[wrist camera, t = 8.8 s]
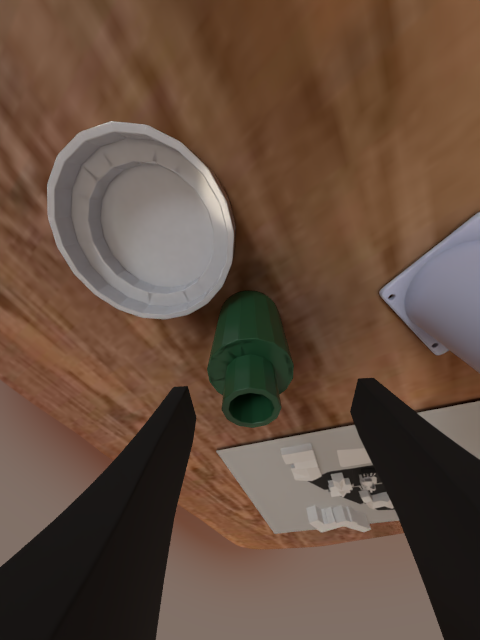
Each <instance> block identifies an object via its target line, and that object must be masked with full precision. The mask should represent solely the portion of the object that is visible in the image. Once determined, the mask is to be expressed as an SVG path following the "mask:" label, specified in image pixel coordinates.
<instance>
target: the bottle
mask: <svg viewBox="0 0 480 640" xmlns="http://www.w3.org/2000/svg"><path fill="white" fill-rule="evenodd" d="M293 368H294V365H293V361H292V358H291V354H290V351H289V347H288V344H287V340H286V337H285V333H284V329H283V326H282V322H281V319H280V315H279V312H278V310H277V307H276V305H275V303H274V302H273V301H272V300H271V299H270V298H269V297H268V296H266V295H265V294H263V293H260V292H257V291H242V292H238V293H236V294H234V295H232V296H231V297H229V298H228V299H227V300H226V301H225V303H224V304H223V306H222V308H221V311H220V315H219V318H218V323H217V327H216V332H215V336H214V341H213V345H212V350H211V354H210V359H209V363H208V368H207V371H208V376H209V381H210V383H211V384H212V385H213V386H214V388H215V389H216V390H217V392H218V393H220V394H222V395H223V402H222V411H223V413H224V415H225V416H226V418H227V419H228V420H229V421H231V422H233V423H235V424H236V425H239V426H244V427H251V428H254V427H259V426H264V425H267V424H269V423H270V422H272V421H273V420H275V419H276V418H277V417H278V415H279V412H280V410H281V403H280V397H279V394H281V393H282V392H283V391H285V390H286V389H287V387H288V385H289V384H290V382H291V381H292V379H293Z"/></svg>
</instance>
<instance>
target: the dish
mask: <svg viewBox="0 0 480 640" xmlns="http://www.w3.org/2000/svg"><path fill="white" fill-rule="evenodd" d="M47 206H48V219H49V222H50V226H51V229H52V232H53V235H54V238H55V241H56V244H57V247H58V249H59V251H60V252H61V254H62V255H63V257H64V259H65V260H66V262H67V263H68V265H69V267H70V268H71V270H72V272H73V273H74V274H75V275H76V276H77V277H78V278H79V279H80V280H81V281H82V282H83V283H84V284H85V285H86V286H87V287H88V288H89V289H90V290H91V291H92V292H93V293H94V294H95V295H96V296H98V297H99V298H101V299H102V300H104V301H106V302H107V303H109V304H110V305H112V306H113V307H115V308H117V309H119V310H121V311H124V312H127V313H130V314H133V315H136V316H139V317H142V318H153V319H170V318H175V317H180V316H185V315H189V314H190V313H192V312H194V311H196V310H197V309H199V308H201V307H203V306H204V305H206V304H207V303H209V301H210V300H211V299H212V298H213V297H214V296H215V295H216V293H217V292H218V291H219V290H220V289H221V288H222V286H223V285H224V282H225V280H226V277H227V275H228V272H229V270H230V267H231V264H232V261H233V256H234V251H235V236H236V225H235V221H234V217H233V212H232V208H231V203H230V201H229V198H228V196H227V194H226V193H225V191H224V189H223V187H222V185H221V184H220V182H219V180H218V178H217V176H216V175H215V173H214V172H213V171H212V170H211V169H210V168H209V167H208V166H207V165H206V164H205V163H204V162H203V161H202V160H201V159H200V158H199V157H198V156H197V155H196V154H194V153H193V152H192V151H191V150H190V149H189V148H188V147H186V146H185V145H184V144H183V143H181V142H180V141H178V140H176V139H174V138H172V137H170V136H168V135H166V134H164V133H162V132H160V131H158V130H156V129H154V128H152V127H150V126H148V125H144V124H134V123H124V122H114V121H111V122H107V123H104V124H101V125H98V126H96V127H93V128H90V129H87V130H84V131H81V132H80V133H78V134H77V135H76V136H75V137H74V138H73V139H72V140H71V141H70V142H69V143H68V145H67V146H66V147H65V148H64V149H63V150H62V151H61V152H60V153H59V154H58V155H57V158H56V161H55V163H54V166H53V169H52V172H51V175H50V178H49V181H48V183H47Z"/></svg>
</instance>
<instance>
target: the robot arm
mask: <svg viewBox="0 0 480 640" xmlns="http://www.w3.org/2000/svg"><path fill="white" fill-rule="evenodd" d="M392 294H393V295H392ZM379 295H380V297H381V298H382V299H383V300H384V301H385V302H386V303H387V304H388V305H389V306H390V307H391V308H392V309H393V311H394V312H395V313H396V314H397V315H398V316H399V317H400V318H401V319H402V320H403V321H404V322H405V323H406V325H407V326H408V327H409V328H410V329H411V330H412V331H413V332H414V333H415V334H416V335H417V336H418V337H419V339H420V340H421V341H422V342H423V343H424V344H425V345H426V346H427V347H428V348H429V349H430V350H431V351H432V352H433V353H434V354H435V355H442V354H444V353H445V352H447V351H449V350H450V351H451V352H452V353H454V354H455V355H456V356H458V357H459V358H460V359H462V360H463V361H464V362H466V363H467V364H468V365H469V366H471V367H472V368H473V369H475V370H476V371H477V372H479V373H480V212H478V213H477V214H475V215H474V216H473V217H472V218H470V219H469V220H468V221H467V222H465V223H464V224H463V225H462V226H460V227H459V228H458V229H456V230H455V231H454V232H453V233H451V234H450V235H449V236H448V237H446V238H445V239H444V240H442V241H441V242H440V243H439V244H437V245H436V246H435V247H434V248H432V249H431V250H430V251H429V252H427V253H426V254H425V255H423V256H422V257H421V258H420V259H418V260H417V261H416V262H415V263H413V264H412V265H411V266H410V267H408V268H407V269H406V270H404V271H403V272H402V273H401V274H399V275H398V276H397V277H396V278H394V279H393V280H392V281H391V282H389V283H388V284H387V285H385V286H384V287H383V288H382V289H381V290H380V292H379ZM390 295H392V297H391V298H388V297H389V296H390ZM350 412H351V415H352V418H353V421H354V424H355V427H356V429H357V432H358V435H359V437H360V439H361V441H362V444H363V446H364V448H365V450H366V452H367V454H368V456H369V458H370V460H371V462H372V464H373V466H374V468H375V470H376V472H377V474H378V476H379V478H380V480H381V482H382V484H383V486H384V488H385V490H386V492H387V494H388V496H389V498H390V500H391V503H392V505H393V507H394V509H395V511H396V514H397V516H398V518H399V521H400V523H401V526H402V528H403V531H404V533H405V536H406V538H407V541H408V543H409V546H410V548H411V551H412V553H413V556H414V559H415V561H416V564H417V566H418V569H419V572H420V574H421V577H422V580H423V582H424V585H425V587H426V590H427V593H428V595H429V599H430V601H431V604H432V607H433V610H434V612H435V615H436V618H437V621H438V624H439V626H440V629H441V632H442V635H443V637H444V640H480V459H478V458H477V457H475V456H474V455H472V454H471V453H469V452H468V451H467V450H465V449H464V448H463V447H461V446H460V445H458V444H457V443H456V442H454V441H453V440H452V439H450V438H449V437H447V436H446V435H445V434H443V433H442V432H441V431H439V430H438V429H437V428H435V427H434V426H433V425H432V424H430V423H429V422H428V421H426V420H425V419H424V418H423V417H421V416H420V415H419V414H417V413H416V412H415V411H414V410H412V409H411V408H410V407H409V406H407V405H406V404H405V403H404V402H403V401H401V400H400V399H399V398H398V397H396V396H395V395H394V394H393V393H392V392H390V391H389V390H388V389H387V388H385V387H384V386H383V385H382V384H380V383H379V382H378V381H377V380H375V379H374V378H361V379H358V382H357V386H356V390H355V394H354V398H353V402H352V407H351V411H350ZM195 423H196V415H195V411H194V407H193V404H192V400H191V397H190V393H189V389H188V386H184V387H173V388H172V390H171V391H170V392H169V394H168V395H167V396H166V398H165V399H164V400H163V402H162V403H161V404H160V406H159V407H158V408H157V409H156V411H155V412H154V413H153V415H152V416H151V417H150V418H149V420H148V421H147V422H146V423H145V425H144V426H143V427H142V428H141V430H140V431H139V432H138V433H137V435H136V436H135V437H134V438H133V439H132V440H131V442H130V443H129V444H128V445H127V446H126V447H125V449H124V450H123V451H122V452H121V453H120V454H119V455H118V457H117V458H116V459H115V460H114V461H113V462H112V463H111V464H110V465H109V466H108V468H107V469H106V470H105V471H104V472H103V473H102V474H101V475H100V476H99V477H98V478H97V479H96V480H95V481H94V482H93V483H92V484H91V485H90V486H89V487H88V488H87V489H86V490H85V491H84V492H83V493H82V494H81V495H80V496H79V497H78V498H77V499H76V500H75V501H74V502H73V503H72V504H71V505H70V506H69V507H68V508H67V509H66V510H65V511H63V512H62V513H61V514H60V515H59V516H58V517H57V518H56V519H55V520H54V521H53V522H52V523H50V524H49V525H48V526H47V527H46V528H45V529H44V530H43V531H41V532H40V533H39V534H38V535H37V536H36V537H35V538H33V539H32V540H31V541H30V542H29V543H28V544H27V545H25V546H24V547H23V548H22V549H21V550H20V551H19V552H17V553H16V554H15V555H14V556H13V557H12V558H11V559H9V560H8V561H7V562H6V563H5V564H3V565H2V566H1V567H0V640H156V633H157V625H158V619H159V611H160V604H161V597H162V590H163V583H164V577H165V570H166V564H167V558H168V552H169V546H170V540H171V534H172V528H173V522H174V516H175V512H176V507H177V503H178V499H179V495H180V491H181V487H182V483H183V479H184V475H185V471H186V467H187V463H188V459H189V455H190V451H191V447H192V443H193V437H194V431H195Z"/></svg>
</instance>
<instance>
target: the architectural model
mask: <svg viewBox="0 0 480 640" xmlns="http://www.w3.org/2000/svg"><path fill="white" fill-rule="evenodd" d="M417 414H419V415H420V416H421V417H423V418H424V419H425V420H426V421H428V422H429V423H430V424H432V425H433V426H434V427H435V428H437V429H438V430H439V431H441V432H442V433H443V434H445V435H446V436H447V437H449V438H450V439H452V440H453V441H454V442H456V443H457V444H458V445H460V446H461V447H463V448H464V449H465V450H467V451H468V452H469V453H471V454H472V455H474V456H475V457H477V458H478V459H480V401H477V402H472V403H467V404H461V405H456V406H451V407H445V408H440V409H435V410H430V411H424V412H419V413H417ZM216 452H217V453H218V454H219V456H220V457H221V459H222V460H223V461H224V463H225V464H226V466H227V467H228V468H229V470H230V471H231V473H232V474H233V475H234V477H235V478H236V480H237V481H238V483H239V484H240V485H241V487H242V488H243V490H244V491H245V492H246V494H247V495H248V497H249V498H250V499H251V501H252V502H253V504H254V505H255V507H256V508H257V509H258V511H259V512H260V514H261V515H262V516H263V518H264V519H265V521H266V522H267V523H268V525H269V526H270V528H271V529H272V530H273V532H274V533H275V534H277V533H286V532H296V531H305V530H314V529H317V530H319V531H320V532H321V533H322V532H325V531H329V530H332V529H335V528H339V527H343V526H345V527H348V528H351V529H355V530H358V531H362V532H366V531H368V530H371V528H370V525H369V524H371V523H380V522H389V521H399V518H398V516H397V514H396V511H395V509H394V507H393V505H392V503H391V500H390V498H389V496H388V494H387V492H386V490H385V488H384V486H383V484H382V482H381V480H380V478H379V476H378V474H377V472H376V470H375V468H374V466H373V464H372V462H371V460H370V458H369V456H368V454H367V452H366V450H365V448H364V446H363V444H362V441H361V439H360V437H359V435H358V432H357V429H356V427H355V425H350V426H345V427H340V428H334V429H329V430H324V431H319V432H313V433H308V434H303V435H297V436H292V437H287V438H282V439H276V440H271V441H266V442H260V443H255V444H250V445H245V446H239V447H234V448H229V449H223V450H218V451H216Z"/></svg>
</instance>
